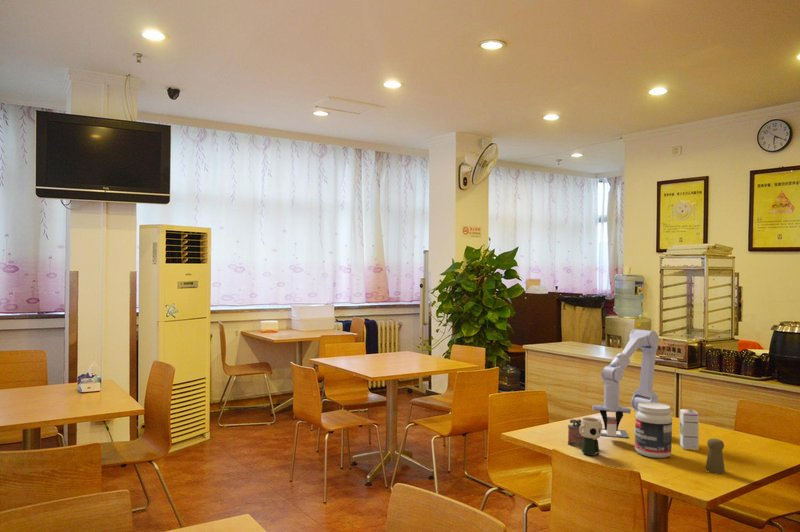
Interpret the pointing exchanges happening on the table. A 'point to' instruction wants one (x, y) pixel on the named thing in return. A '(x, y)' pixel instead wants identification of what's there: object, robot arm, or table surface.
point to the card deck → (611, 426)
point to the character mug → (590, 434)
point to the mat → (618, 433)
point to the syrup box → (689, 429)
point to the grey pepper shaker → (715, 456)
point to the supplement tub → (653, 430)
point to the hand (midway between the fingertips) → (611, 429)
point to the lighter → (575, 433)
